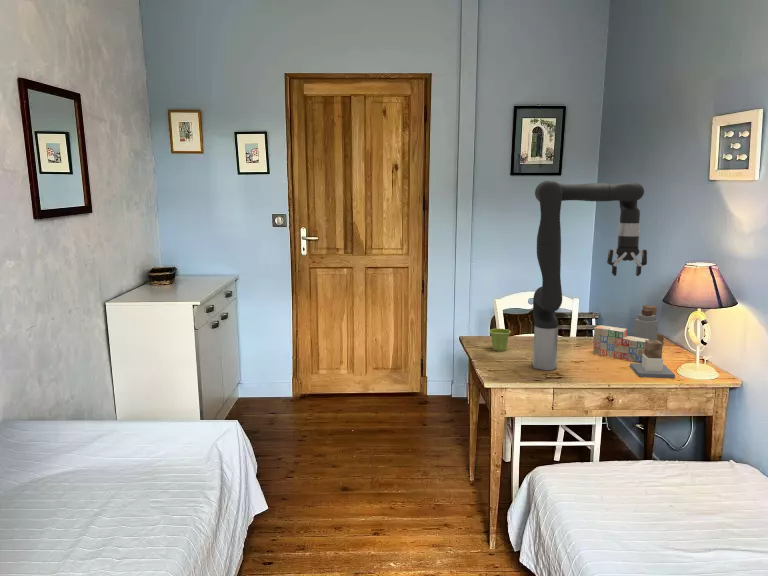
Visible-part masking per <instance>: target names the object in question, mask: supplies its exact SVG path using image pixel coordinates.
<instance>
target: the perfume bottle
mask: <svg viewBox="0 0 768 576" xmlns="http://www.w3.org/2000/svg"><path fill="white" fill-rule="evenodd" d="M652 314H653V311H652V310H648V309H645V310H643V309H641V313H639V314H637V317H638V318H635V319H634V331H633V332H634V333H633V337H639V338H644V339H649V340H657V333H659V331H658V329H659V320H657V315H656V316H655V315H652ZM655 318H656V320H655Z"/></svg>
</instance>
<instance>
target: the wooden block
mask: <svg viewBox="0 0 768 576" xmlns="http://www.w3.org/2000/svg"><path fill="white" fill-rule="evenodd" d="M645 309H648V310H652V311H653V314H652V315H655V316H656V318H655V320H657V310H658V308H657V306H655V305H652V304H647V305H646V304H645V305H642V310H645ZM664 338H665V336H664V334H663V333H660V332H658V333H657V340H659V341H660V342H661V343H663V344H664Z"/></svg>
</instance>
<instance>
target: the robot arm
mask: <svg viewBox="0 0 768 576" xmlns="http://www.w3.org/2000/svg"><path fill="white" fill-rule="evenodd" d="M644 195H645V190H644V187H643V185H642V184H640V183H637V182H622V183H621V182H620V183H613V182H594V183H593V182H592V183H580V184H579V183H577V184H570V183H568V184H567V183H559V182H557V181H556V180H544V181H542V182H540V183H539V184H538V185H537V186H536V187H535V190H534V196H535V199H536V200H537V201H538V202H539V205H540V206H539V208H540V220H539V225H538V230H537V235H536V259H537V262H538V263H537V264H538V265H539V270H540V272H541V278H542V279H541V280H542V283H541V286H540V287H538V288H537V289H536V290H534V293H533V298H532V316H533V317H532V318H533V321H534V329H533V330H534V331H533V332H534V333H533V343H532V360H531V362H532V367H533V369H535V370H536V369H537V370H543V371H552V370H555V369H557V361H558V360H557V358H558V357H557V356H558V341H559V340H558V339H559V338H558V336H559V320H558V318H557V315H556V311H558V310H559V309H560V308H561V306H562V303H563V289H562V279H561V272H562V271H561V267H562V266H561V264H562V263H561V262H562V261H561V259H562V258H561V257H562V236H561V235H562V234H561V233H562V231H561V211H562V210H561V207H562V202H564V201H565V202H566V201H581V202H583V201H584V202H614V201H618V202H619V209H620V210H619V211H620V214H619V215H620V216H619V225H618V233H617V234H618V235H617V248H616V249H611V248H609V249H608V252H607V260H606V261H607V262H606V264H607V265H609V266H611V273H612V276H613V277H616V276H617V271H618V266H617V265H618V264H619V263H620V262H626V261H628V262H629V261H630V262H632V261H633V262H634V263H635V264H636V267H635V276H636V277H640V275H642V267H643V266H646V265H648V264H647V263H648V250H647V249H639V242H640V235H641V232H640V217H641V212H640V209H639V207H638V201H639V200H641V199H642V197H644ZM615 254H616V255H617V256H616V258H615V259H614V260H613V258H614V257H613V256H615ZM639 254H640V256H641V261H640V260H639V258H638V257H637V256H639Z"/></svg>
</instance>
